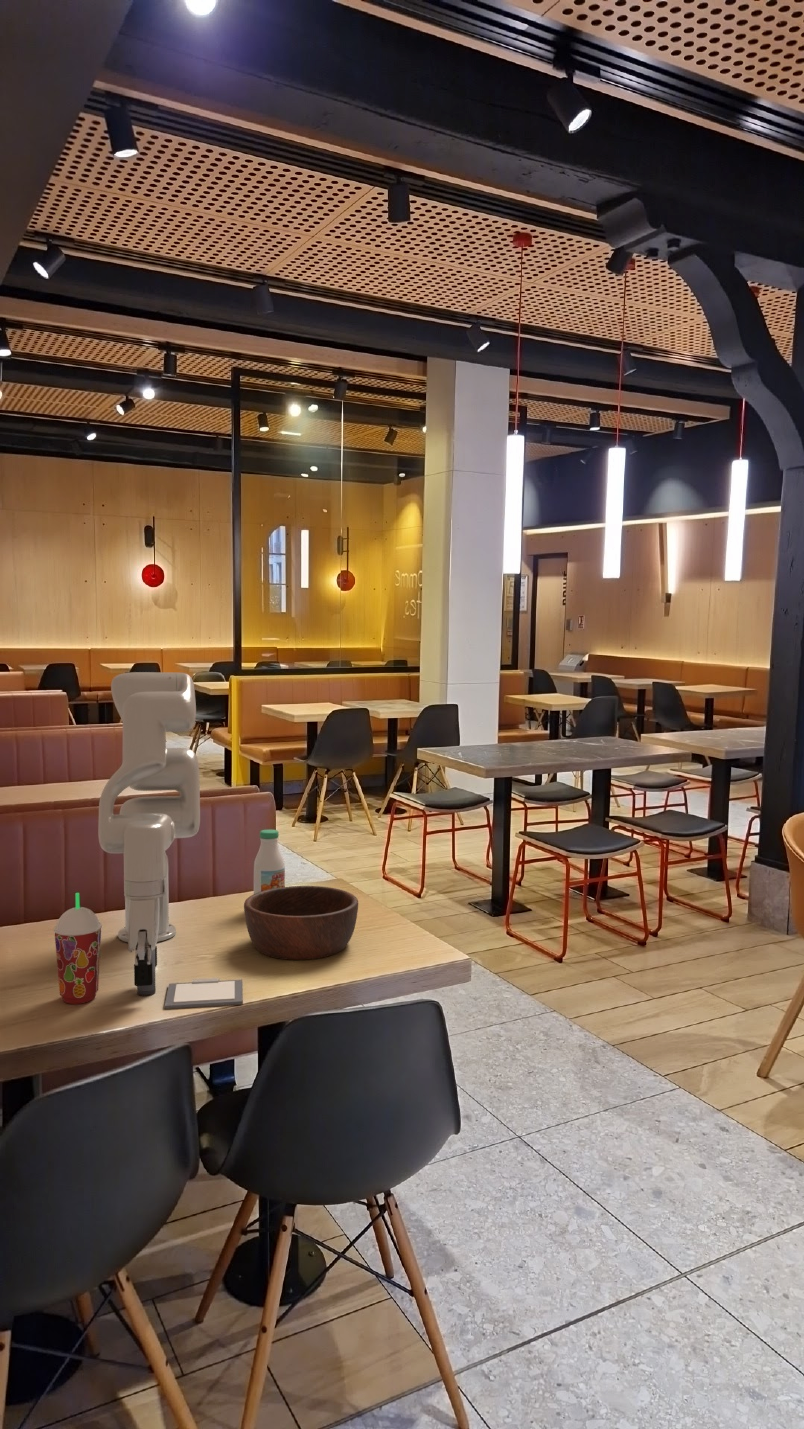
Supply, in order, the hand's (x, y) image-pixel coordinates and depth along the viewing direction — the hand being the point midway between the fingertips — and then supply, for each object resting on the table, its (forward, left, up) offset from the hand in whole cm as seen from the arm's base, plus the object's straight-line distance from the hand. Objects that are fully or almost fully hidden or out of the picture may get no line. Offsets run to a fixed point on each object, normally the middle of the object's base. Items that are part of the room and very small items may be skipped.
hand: (146, 975), depth 173 cm
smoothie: (+1, -12, -4) cm, 13 cm away
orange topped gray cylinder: (0, 0, -3) cm, 3 cm away
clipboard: (+3, +11, -3) cm, 12 cm away
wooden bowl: (-23, +31, -4) cm, 39 cm away
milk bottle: (-51, +25, -4) cm, 57 cm away
